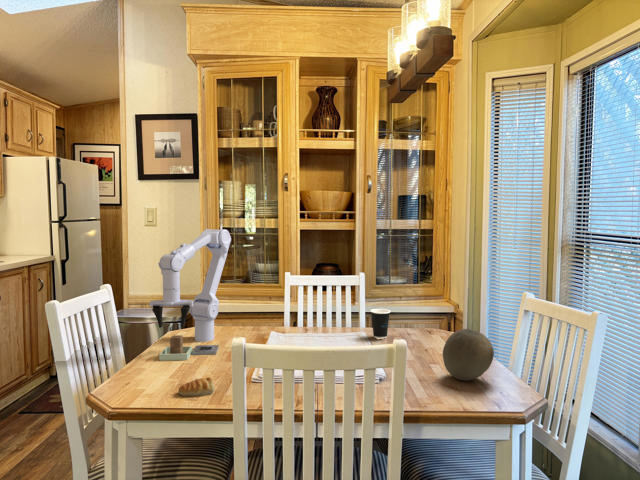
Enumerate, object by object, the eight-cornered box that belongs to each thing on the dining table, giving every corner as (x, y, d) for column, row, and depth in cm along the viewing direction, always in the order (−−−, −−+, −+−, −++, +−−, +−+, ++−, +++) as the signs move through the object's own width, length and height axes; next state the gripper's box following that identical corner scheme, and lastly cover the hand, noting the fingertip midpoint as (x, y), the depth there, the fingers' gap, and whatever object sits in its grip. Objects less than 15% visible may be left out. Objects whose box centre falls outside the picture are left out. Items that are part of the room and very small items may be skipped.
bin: (166, 355, 161) (166, 346, 161) (192, 354, 162) (192, 346, 162) (159, 363, 152) (159, 354, 152) (187, 362, 153) (187, 353, 153)
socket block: (196, 350, 167) (196, 345, 167) (218, 350, 167) (218, 345, 167) (192, 357, 159) (192, 352, 159) (215, 357, 159) (215, 351, 159)
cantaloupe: (459, 390, 131) (460, 337, 130) (434, 373, 144) (434, 325, 143) (502, 385, 134) (503, 334, 134) (473, 369, 148) (474, 323, 147)
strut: (170, 358, 156) (170, 338, 155) (172, 355, 159) (172, 335, 159) (180, 358, 156) (180, 338, 156) (182, 355, 159) (182, 335, 159)
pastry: (180, 400, 123) (180, 386, 123) (176, 391, 129) (176, 378, 129) (215, 394, 127) (215, 380, 127) (210, 386, 133) (210, 373, 133)
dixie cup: (387, 341, 181) (388, 313, 180) (368, 339, 183) (368, 311, 183) (391, 336, 188) (392, 309, 187) (372, 334, 191) (373, 308, 190)
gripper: (146, 290, 158) (147, 329, 159) (190, 290, 159) (190, 329, 160) (152, 287, 165) (153, 325, 166) (194, 286, 166) (194, 324, 167)
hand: (171, 326), depth 164 cm, fingers open, 7 cm apart
